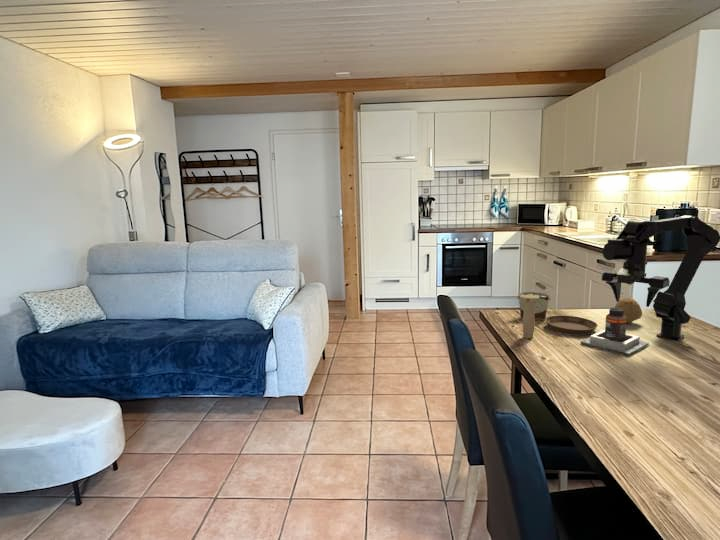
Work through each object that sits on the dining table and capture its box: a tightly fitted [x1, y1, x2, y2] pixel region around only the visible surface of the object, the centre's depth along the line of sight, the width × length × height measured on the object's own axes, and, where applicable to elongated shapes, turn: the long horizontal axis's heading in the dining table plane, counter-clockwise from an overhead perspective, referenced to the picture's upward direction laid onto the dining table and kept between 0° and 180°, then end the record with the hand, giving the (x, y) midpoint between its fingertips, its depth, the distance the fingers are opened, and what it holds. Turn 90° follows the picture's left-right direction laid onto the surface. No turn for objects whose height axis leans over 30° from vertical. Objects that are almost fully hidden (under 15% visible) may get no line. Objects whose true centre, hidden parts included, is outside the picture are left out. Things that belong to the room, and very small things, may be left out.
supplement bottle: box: [604, 307, 627, 342], centre depth 144 cm, size 6×6×11 cm
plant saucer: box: [544, 315, 598, 336], centre depth 163 cm, size 18×18×3 cm
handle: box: [520, 295, 540, 339], centre depth 154 cm, size 5×6×15 cm
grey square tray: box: [580, 328, 650, 358], centre depth 145 cm, size 15×15×3 cm
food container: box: [517, 291, 551, 321], centre depth 179 cm, size 12×6×10 cm, turn 71°
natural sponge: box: [614, 296, 643, 324], centre depth 168 cm, size 9×9×10 cm
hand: (632, 304), depth 147 cm, fingers open, 9 cm apart
